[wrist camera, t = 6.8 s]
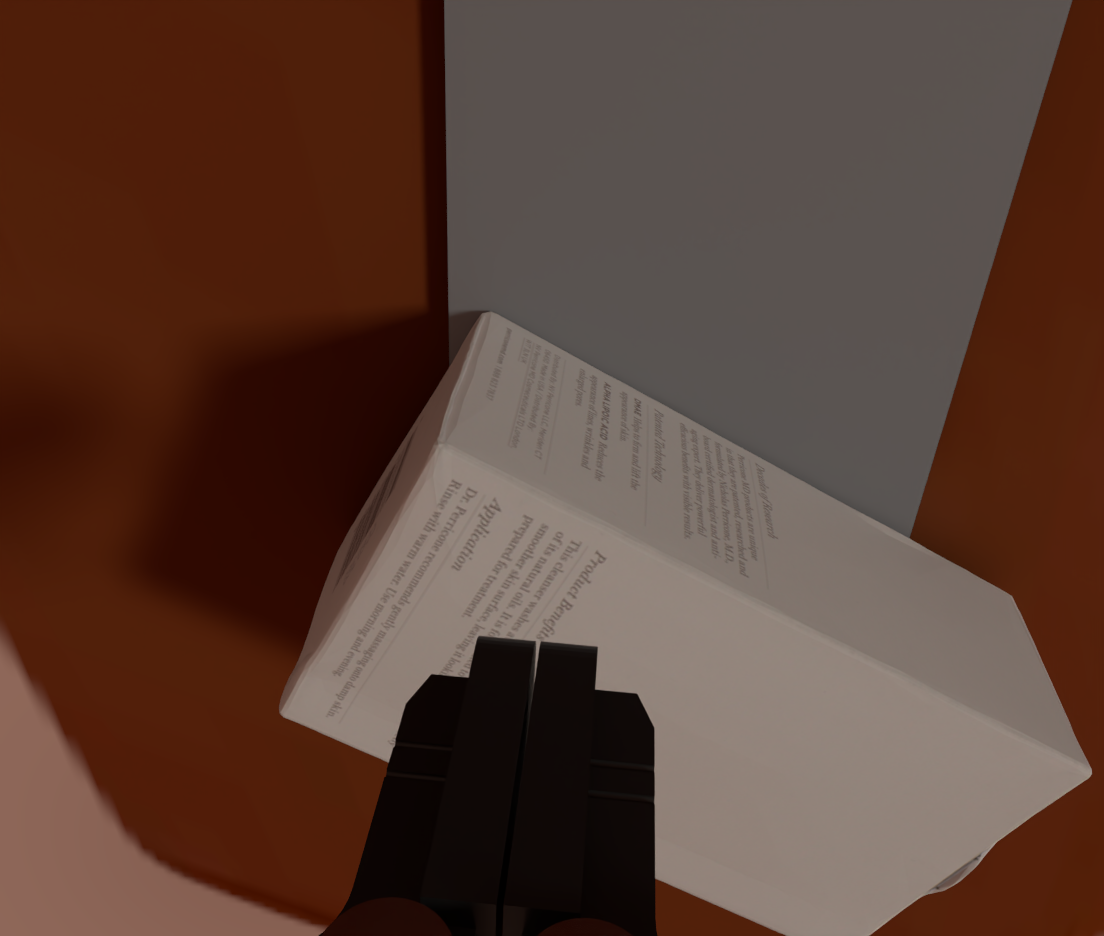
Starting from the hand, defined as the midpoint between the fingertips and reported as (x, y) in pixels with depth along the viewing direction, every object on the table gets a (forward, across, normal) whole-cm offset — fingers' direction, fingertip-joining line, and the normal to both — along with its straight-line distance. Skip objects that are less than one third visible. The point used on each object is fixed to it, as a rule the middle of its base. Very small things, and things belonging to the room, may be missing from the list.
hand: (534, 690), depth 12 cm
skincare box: (+8, +4, +3) cm, 9 cm away
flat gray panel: (+11, -3, 0) cm, 11 cm away
